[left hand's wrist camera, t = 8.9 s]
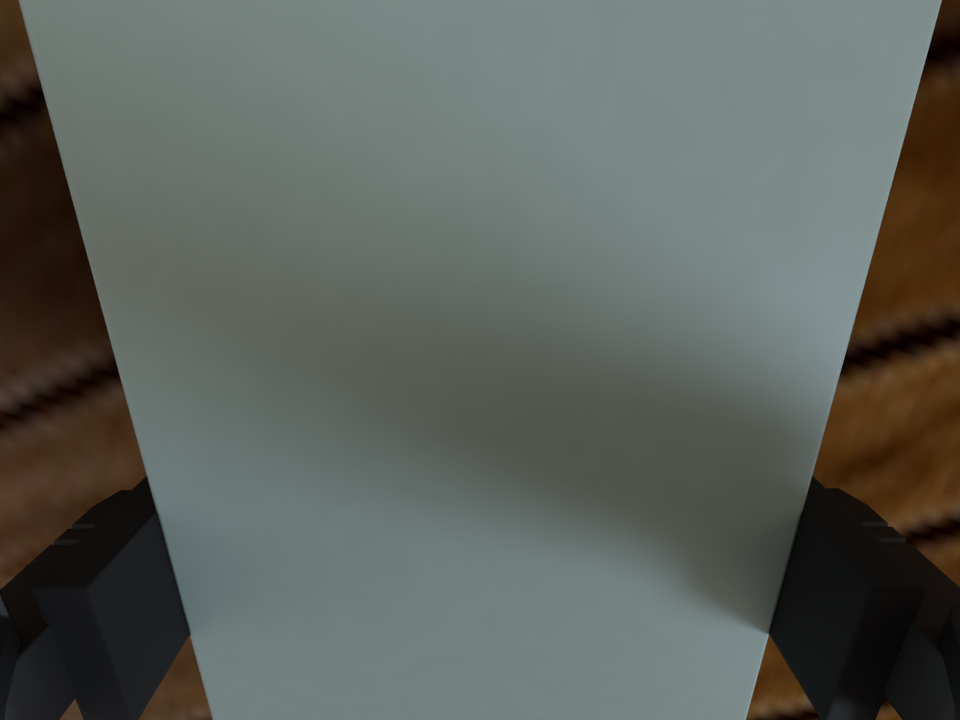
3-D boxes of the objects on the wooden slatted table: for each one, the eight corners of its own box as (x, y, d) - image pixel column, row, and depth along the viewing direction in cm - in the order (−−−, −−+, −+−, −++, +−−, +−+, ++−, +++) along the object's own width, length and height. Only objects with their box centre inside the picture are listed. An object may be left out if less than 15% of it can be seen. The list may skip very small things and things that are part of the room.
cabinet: (255, -240, 12) (-341, -1292, 3) (704, -238, 12) (1298, -1283, 3) (336, 463, 19) (212, 727, 10) (622, 463, 19) (746, 727, 10)
